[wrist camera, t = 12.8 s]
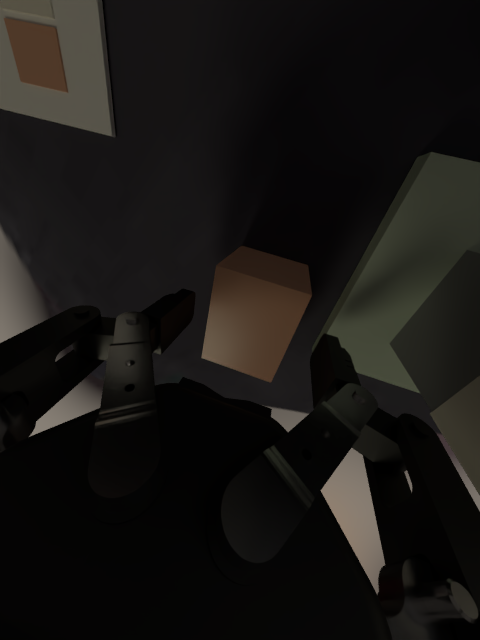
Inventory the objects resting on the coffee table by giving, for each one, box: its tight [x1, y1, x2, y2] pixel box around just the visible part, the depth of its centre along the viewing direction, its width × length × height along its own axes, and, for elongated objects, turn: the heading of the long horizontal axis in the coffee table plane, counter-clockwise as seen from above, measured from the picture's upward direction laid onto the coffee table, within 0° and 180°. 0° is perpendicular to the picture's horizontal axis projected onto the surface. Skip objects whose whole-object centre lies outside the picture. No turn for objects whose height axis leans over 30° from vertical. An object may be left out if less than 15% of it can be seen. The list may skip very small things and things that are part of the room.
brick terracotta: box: [202, 246, 312, 382], centre depth 13 cm, size 6×4×5 cm
